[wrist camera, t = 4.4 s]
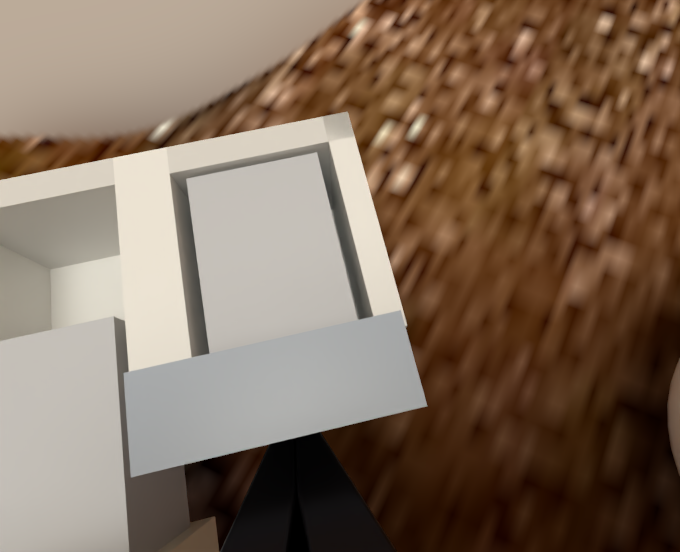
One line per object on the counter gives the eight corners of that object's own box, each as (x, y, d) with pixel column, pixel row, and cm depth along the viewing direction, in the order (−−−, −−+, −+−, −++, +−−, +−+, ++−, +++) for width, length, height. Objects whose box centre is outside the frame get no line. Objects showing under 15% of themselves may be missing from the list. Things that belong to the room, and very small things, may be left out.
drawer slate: (383, 410, 14) (427, 406, 6) (245, 443, 13) (130, 477, 6) (336, 218, 16) (329, 53, 8) (216, 244, 15) (103, 95, 8)
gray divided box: (385, 356, 15) (407, 325, 10) (-113, 471, 14) (-383, 506, 9) (346, 205, 17) (347, 111, 12) (-97, 299, 16) (-315, 242, 11)
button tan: (222, 573, 12) (50, 798, 5) (65, 614, 12) (-348, 909, 5) (193, 341, 14) (42, 268, 7) (59, 371, 14) (-238, 327, 7)
